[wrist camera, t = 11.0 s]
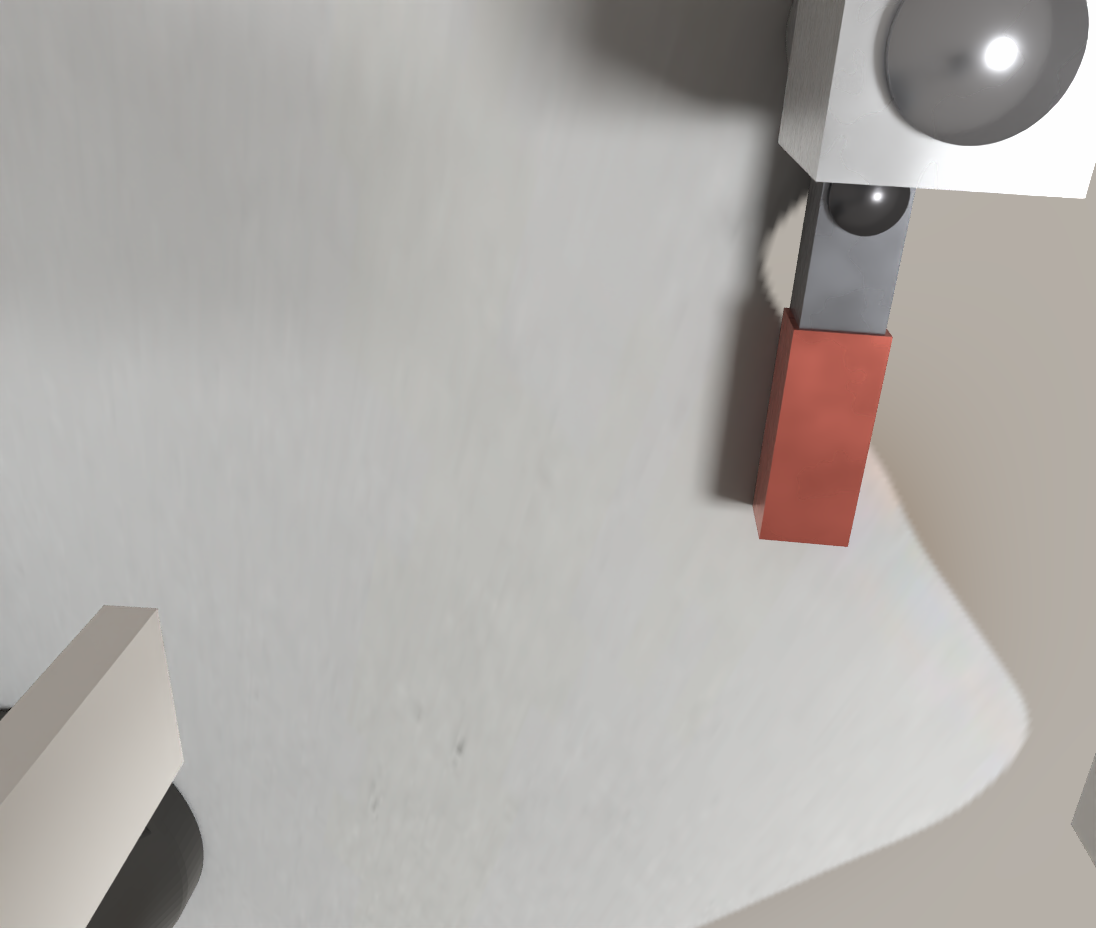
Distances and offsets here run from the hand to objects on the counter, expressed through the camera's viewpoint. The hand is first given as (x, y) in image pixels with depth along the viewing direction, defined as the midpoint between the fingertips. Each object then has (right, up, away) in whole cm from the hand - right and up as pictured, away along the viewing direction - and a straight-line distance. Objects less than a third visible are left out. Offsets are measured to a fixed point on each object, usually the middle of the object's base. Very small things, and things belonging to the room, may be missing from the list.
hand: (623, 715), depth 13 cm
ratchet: (+9, +11, +19) cm, 24 cm away
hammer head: (+9, +16, +14) cm, 23 cm away
